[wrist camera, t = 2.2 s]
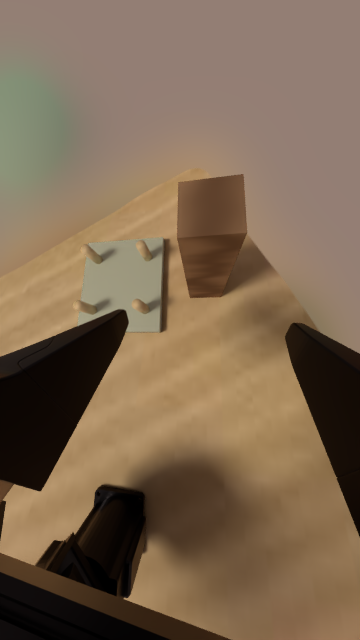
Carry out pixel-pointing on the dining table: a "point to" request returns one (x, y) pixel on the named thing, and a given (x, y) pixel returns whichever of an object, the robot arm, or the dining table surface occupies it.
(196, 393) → the dining table surface
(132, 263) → the pin plate
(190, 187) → the walnut block
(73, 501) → the dining table surface
